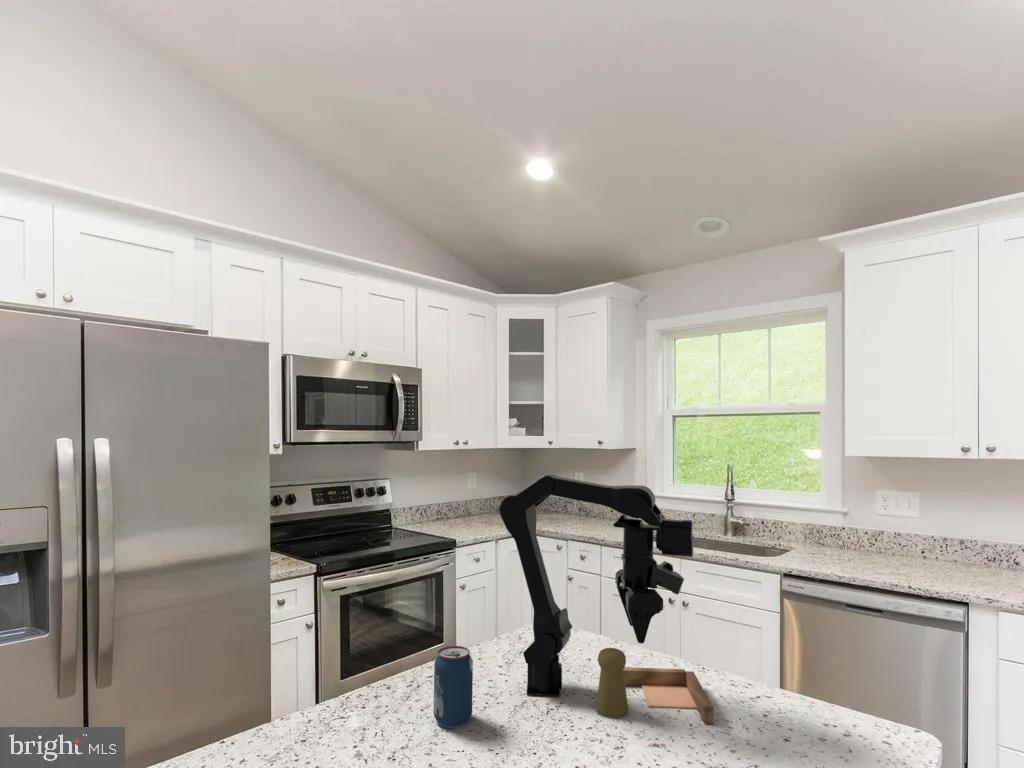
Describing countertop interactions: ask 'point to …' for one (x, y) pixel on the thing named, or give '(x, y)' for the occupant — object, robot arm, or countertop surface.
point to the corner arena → (671, 689)
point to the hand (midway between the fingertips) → (636, 634)
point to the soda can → (453, 686)
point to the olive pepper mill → (612, 684)
